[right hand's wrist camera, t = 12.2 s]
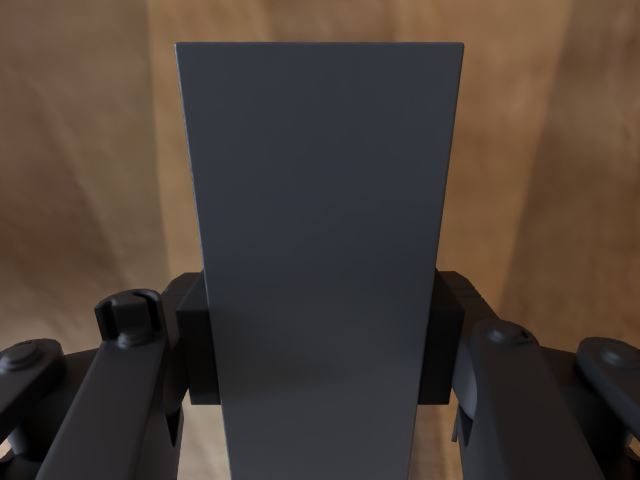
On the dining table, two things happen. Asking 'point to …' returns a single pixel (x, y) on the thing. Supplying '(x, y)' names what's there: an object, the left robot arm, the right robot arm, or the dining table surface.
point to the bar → (319, 243)
